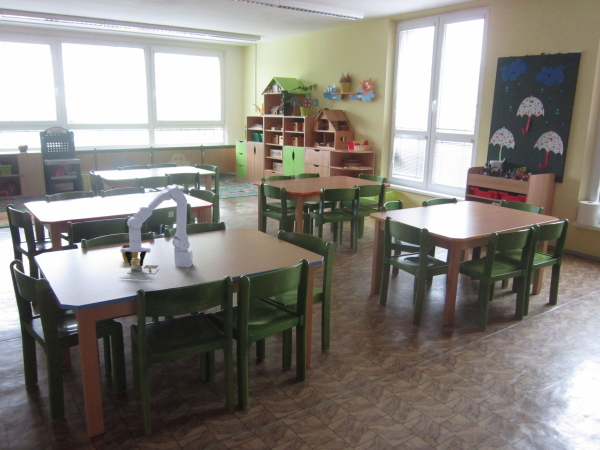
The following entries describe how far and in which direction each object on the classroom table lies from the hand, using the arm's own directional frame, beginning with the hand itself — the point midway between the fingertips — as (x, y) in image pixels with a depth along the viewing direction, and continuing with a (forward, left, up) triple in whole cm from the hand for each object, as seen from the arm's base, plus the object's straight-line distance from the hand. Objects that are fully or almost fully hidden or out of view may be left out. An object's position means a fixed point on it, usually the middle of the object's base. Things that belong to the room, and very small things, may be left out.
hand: (136, 265), depth 251 cm
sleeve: (0, 0, -3) cm, 3 cm away
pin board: (-3, 0, -4) cm, 5 cm away
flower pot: (+9, -18, -4) cm, 20 cm away
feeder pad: (-5, -8, -4) cm, 10 cm away
